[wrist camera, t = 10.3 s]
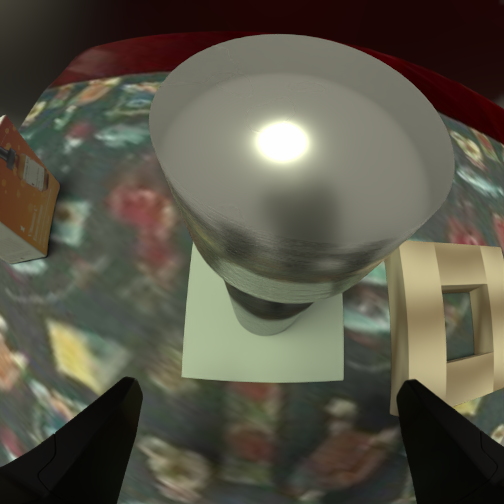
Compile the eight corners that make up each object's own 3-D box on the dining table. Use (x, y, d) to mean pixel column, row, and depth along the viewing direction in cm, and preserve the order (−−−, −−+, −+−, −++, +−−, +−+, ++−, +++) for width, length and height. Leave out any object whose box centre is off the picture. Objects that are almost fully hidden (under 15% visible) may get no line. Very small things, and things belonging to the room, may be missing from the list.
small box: (48, 258, 20) (-33, 197, 10) (10, 265, 19) (-65, 216, 10) (61, 182, 23) (6, 111, 13) (24, 195, 22) (-31, 136, 13)
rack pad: (338, 379, 17) (343, 379, 16) (185, 375, 17) (181, 376, 16) (334, 239, 20) (337, 233, 19) (197, 234, 20) (195, 228, 20)
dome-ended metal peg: (318, 315, 17) (490, 160, 3) (253, 357, 16) (267, 337, 2) (276, 255, 19) (321, 25, 5) (213, 292, 18) (116, 82, 4)
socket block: (495, 383, 15) (514, 382, 13) (389, 414, 16) (406, 419, 13) (484, 257, 20) (500, 247, 18) (383, 253, 20) (398, 240, 18)
